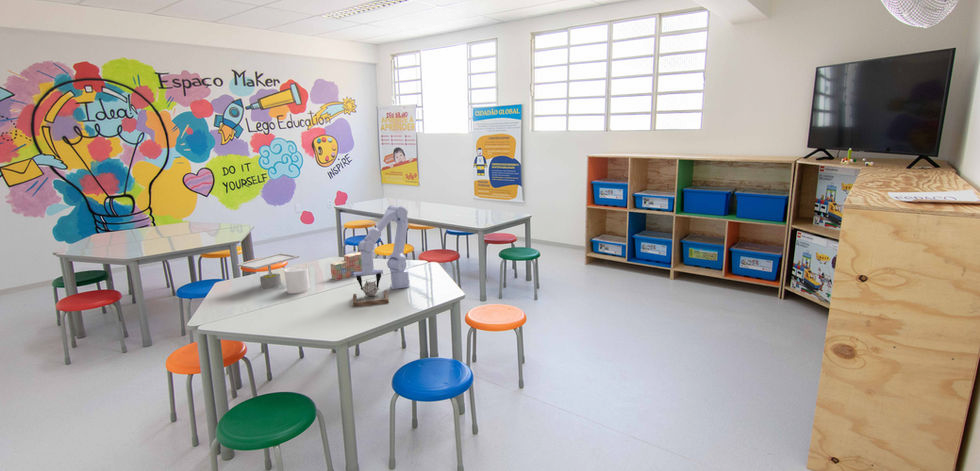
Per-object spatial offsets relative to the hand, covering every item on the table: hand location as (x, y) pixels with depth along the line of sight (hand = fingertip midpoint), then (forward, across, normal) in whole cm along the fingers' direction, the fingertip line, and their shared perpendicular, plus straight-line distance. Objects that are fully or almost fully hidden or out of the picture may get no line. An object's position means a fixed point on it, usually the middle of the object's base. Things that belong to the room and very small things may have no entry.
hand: (369, 288), depth 258 cm
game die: (+4, 0, +2) cm, 4 cm away
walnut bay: (+3, 0, +9) cm, 9 cm away
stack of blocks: (+4, +9, -44) cm, 45 cm away
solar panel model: (+4, +52, -40) cm, 66 cm away
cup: (+4, +37, -25) cm, 44 cm away
